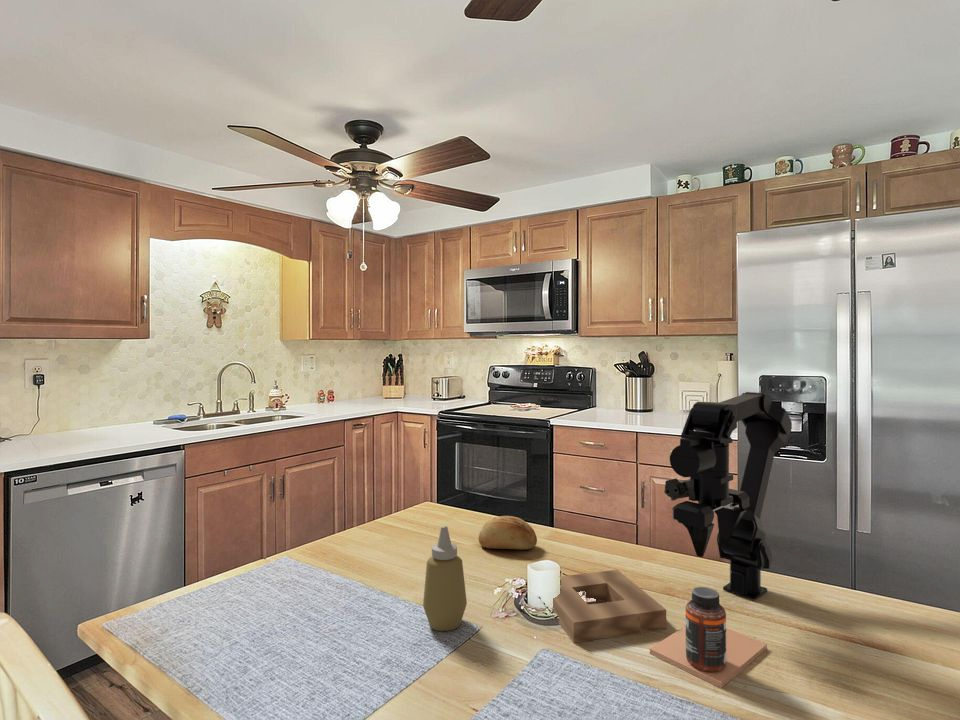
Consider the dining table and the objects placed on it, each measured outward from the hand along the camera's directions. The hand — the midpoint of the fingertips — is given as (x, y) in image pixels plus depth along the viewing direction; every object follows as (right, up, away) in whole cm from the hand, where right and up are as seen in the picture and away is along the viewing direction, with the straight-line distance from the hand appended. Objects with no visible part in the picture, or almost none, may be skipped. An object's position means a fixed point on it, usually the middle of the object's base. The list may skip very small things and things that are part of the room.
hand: (712, 550), depth 103 cm
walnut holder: (-21, -12, +1) cm, 25 cm away
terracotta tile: (-6, -12, -13) cm, 19 cm away
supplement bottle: (-8, -12, -17) cm, 23 cm away
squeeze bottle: (-51, -13, -3) cm, 52 cm away
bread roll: (-37, -12, +34) cm, 52 cm away
